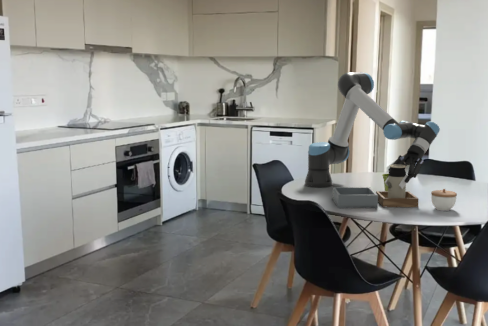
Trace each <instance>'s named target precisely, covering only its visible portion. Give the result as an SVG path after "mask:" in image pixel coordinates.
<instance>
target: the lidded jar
mask: <svg viewBox="0 0 488 326" xmlns="http://www.w3.org/2000/svg"><path fill="white" fill-rule="evenodd" d="M430 195H431V197H430V198H431V202H432V205H433V207H434V208H435V209H436V210H437V211H442V212H443V211H444V212H446V211H447V212H448V211H451V209H453V208H454V206H455V205H456V202H457V195H458V194H457V192H455V191H453V190H446V188H442V189H439V190H438V189H436V190H432V191H431V194H430Z"/></svg>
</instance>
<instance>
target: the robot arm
mask: <svg viewBox="0 0 488 326" xmlns="http://www.w3.org/2000/svg"><path fill="white" fill-rule="evenodd" d="M374 87H375V81H374V80H373V77H372V75H370V74H369V73H367V72H362V71H360V72H357V71H356V72H351V71H350V72H349V71H347V72H345V73H343V74H342V75H341V76H340V77H339V79H338V81H337V88H338V91H339V92H340V94H341V95H342V96H343V97H344V98H345V99H344V103H343V106H342V108H341V110H340V113H339V116H338V119H337V122H336V126H335V128H334V131H333V134H332V135H331V136H330V137H329V138H328V141H319V142H317V141H316V142H313V143H311V144H309V146H308V151H307V153H308V158H307V159H308V160H307V163H308V165H307V166H308V167H307V168H308V169H307V174H306V176H305V179H304V185H305V186H306V187H311V188H328V187H332V186H333V180H332V177H331V172H330V165H335V164H337V165H339V164H341V163H344V162H345V161H347V160H348V158H349V156H350V147H349V146H350V144H349V142H348V140H349V137H350V134H351V132H352V129H353V126H354V124H355V121H356V117H357V115H358V112H359V109H360V110H361V111H362V112H363V113H364V114H366V116H368V118H370V119H371V120H372V121H373V122H374V123H375V124H376V125H377V126H378V127H380V128H381V130H383V135H384V138H385V139H388V140H392V141H393V140H399V139H408V138H411V139H413V142H412V143H411V145H410V146H409V147H408V149H407V150H406V154H405V155H404V156H403V155H401V154H400V155H398V157H397V159H396V160H395V161H394V162H393V163H392V165H395V164H396V165H405V166H406V167H407V166H408V171H407V174H406V175H405V177H404V178H403V180H402V181H401V183H400V184H399V187H400V188H401V189H403V188H404V186H405V185H406V186H407V184H409V182H410V180H411V179H412V178H415V179H416V178H417V176H418V173H419V172H420V169H421V168H422V165H423V164H424V163H425V161H424V159H423V157H424V156H425V153H426V152H427V150H429V148H430V147H431V145H432V143H433V142H434V140H435V139H436V138H437V137H438V134H439V133H440V131H441V129H440V126H439V125H438V123H435V122H434V121H426V123H425V124H420V123H415V122H412V121H409V120H401V121H400V122H398V121H397V120H396V119H394V118H393V116H391V115H390V113H388V112H387V111H386V110H385V109H383V108H382V107H381V106H380V105H379V104H378V102H376V101H375V100H374V99H373V98H371V97H370V94H371V93H372V91H373V90H374ZM389 171H390V167H389V168H388V172H389ZM388 178H389V175H388V177H387V179H386V181H385V184H386V185H387V186H388Z"/></svg>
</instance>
